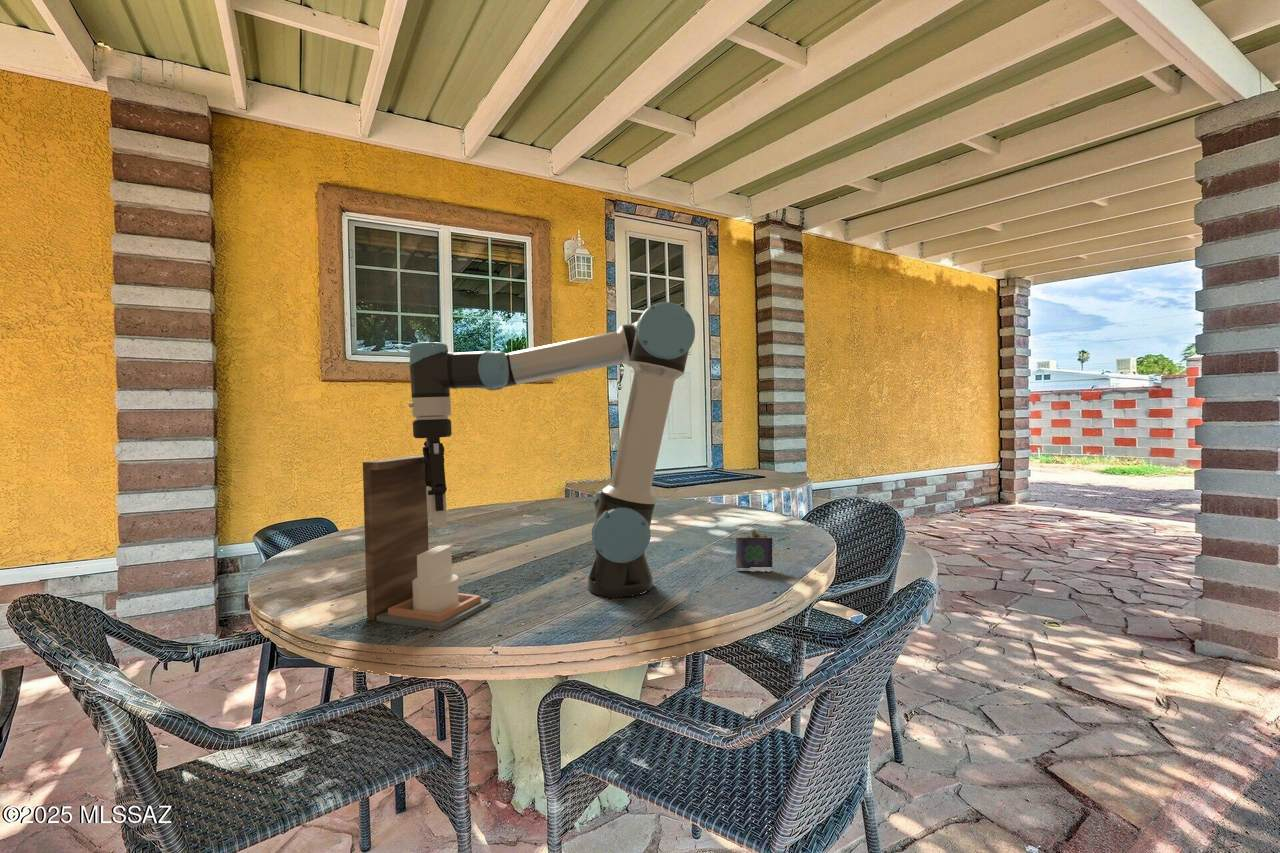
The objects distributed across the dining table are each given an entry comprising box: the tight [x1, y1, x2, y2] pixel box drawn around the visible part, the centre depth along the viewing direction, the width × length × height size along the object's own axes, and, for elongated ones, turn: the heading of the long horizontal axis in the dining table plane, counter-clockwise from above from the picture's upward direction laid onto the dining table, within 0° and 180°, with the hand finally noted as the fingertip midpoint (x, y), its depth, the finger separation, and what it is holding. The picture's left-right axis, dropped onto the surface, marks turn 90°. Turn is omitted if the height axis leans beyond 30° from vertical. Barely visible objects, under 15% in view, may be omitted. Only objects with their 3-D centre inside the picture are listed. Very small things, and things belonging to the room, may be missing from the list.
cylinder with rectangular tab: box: [412, 544, 459, 614], centre depth 123 cm, size 9×9×12 cm
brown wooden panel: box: [362, 454, 430, 621], centre depth 126 cm, size 4×16×32 cm, turn 159°
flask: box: [735, 528, 773, 568], centre depth 151 cm, size 9×3×11 cm, turn 84°
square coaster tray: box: [376, 592, 492, 632], centre depth 123 cm, size 16×16×2 cm
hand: (436, 521), depth 123 cm, fingers open, 12 cm apart
